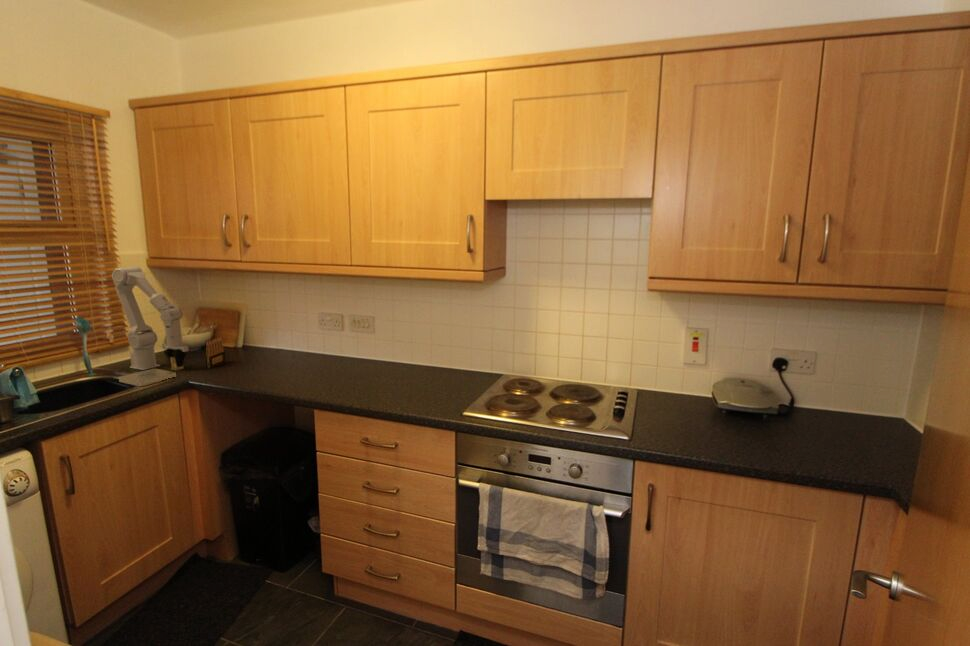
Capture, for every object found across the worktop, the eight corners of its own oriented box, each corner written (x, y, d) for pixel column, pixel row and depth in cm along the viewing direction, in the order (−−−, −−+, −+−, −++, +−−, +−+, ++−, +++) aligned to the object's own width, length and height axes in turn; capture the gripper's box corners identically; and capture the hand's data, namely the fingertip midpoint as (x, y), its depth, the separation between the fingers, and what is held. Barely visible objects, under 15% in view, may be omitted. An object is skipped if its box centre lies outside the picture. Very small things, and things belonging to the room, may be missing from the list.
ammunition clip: (222, 361, 230) (219, 336, 228) (226, 362, 230) (223, 336, 227) (206, 368, 219) (203, 341, 217) (210, 368, 219) (207, 341, 217)
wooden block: (171, 369, 217) (170, 357, 216) (178, 367, 220) (177, 355, 219) (176, 370, 215) (175, 358, 214) (183, 368, 218) (182, 356, 217)
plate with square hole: (119, 381, 199) (118, 377, 199) (154, 372, 212) (154, 368, 211) (141, 386, 193) (140, 381, 193) (176, 377, 206) (175, 372, 205)
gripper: (153, 335, 214) (157, 366, 217) (175, 338, 208) (179, 370, 211) (169, 332, 220) (173, 362, 223) (191, 335, 214) (194, 366, 217)
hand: (177, 365), depth 217 cm, fingers closed on wooden block, 3 cm apart
